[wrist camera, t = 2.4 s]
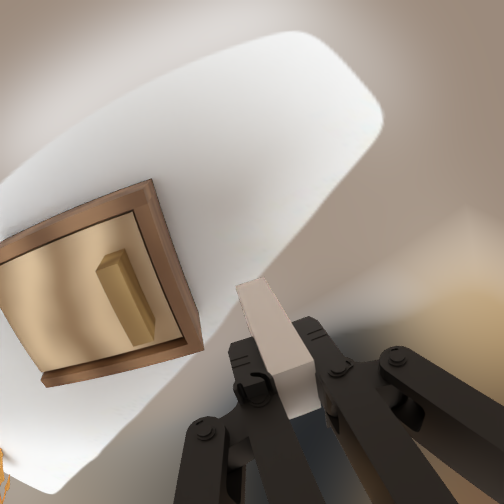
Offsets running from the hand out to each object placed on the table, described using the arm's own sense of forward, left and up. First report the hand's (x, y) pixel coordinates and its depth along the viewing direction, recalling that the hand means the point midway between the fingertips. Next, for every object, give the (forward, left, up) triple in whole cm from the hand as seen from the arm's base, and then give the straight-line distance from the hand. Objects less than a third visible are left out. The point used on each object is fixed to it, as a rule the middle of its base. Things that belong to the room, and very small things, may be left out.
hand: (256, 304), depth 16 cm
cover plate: (-12, -5, -8) cm, 15 cm away
